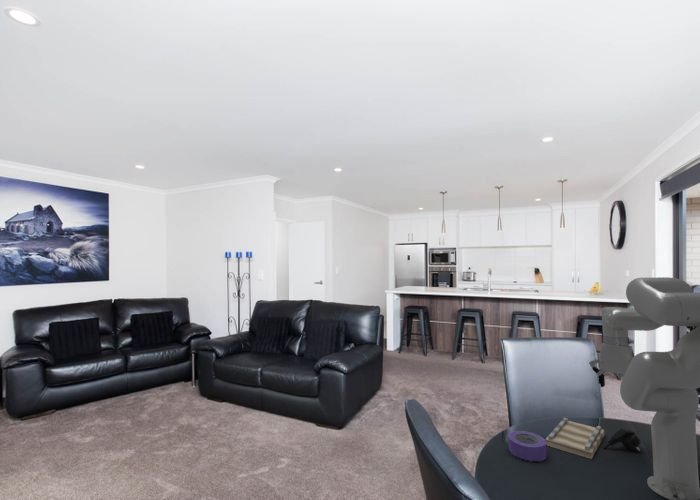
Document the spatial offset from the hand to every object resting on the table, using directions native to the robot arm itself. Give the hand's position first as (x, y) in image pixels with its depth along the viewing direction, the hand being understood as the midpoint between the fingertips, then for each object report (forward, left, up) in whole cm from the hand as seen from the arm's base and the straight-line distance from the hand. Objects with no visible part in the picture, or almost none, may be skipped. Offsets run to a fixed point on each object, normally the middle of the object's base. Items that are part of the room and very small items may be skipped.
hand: (618, 389), depth 130 cm
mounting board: (-7, +13, -20) cm, 24 cm away
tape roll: (-29, +23, -20) cm, 42 cm away
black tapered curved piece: (-3, 0, -20) cm, 20 cm away
